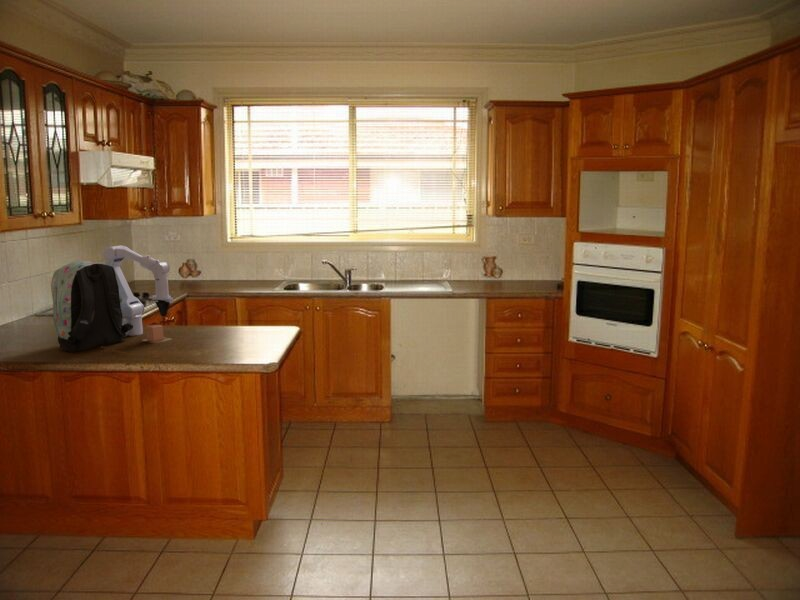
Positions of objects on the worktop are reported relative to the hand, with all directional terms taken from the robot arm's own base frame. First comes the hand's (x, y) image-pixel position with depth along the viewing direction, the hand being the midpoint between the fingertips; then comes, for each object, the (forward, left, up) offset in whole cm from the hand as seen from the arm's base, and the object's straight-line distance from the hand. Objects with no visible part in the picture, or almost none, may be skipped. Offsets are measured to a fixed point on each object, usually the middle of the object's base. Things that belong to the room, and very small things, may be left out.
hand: (163, 316), depth 313 cm
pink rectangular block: (+4, -8, -10) cm, 13 cm away
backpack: (-15, -29, -11) cm, 34 cm away
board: (+4, -7, -10) cm, 13 cm away
